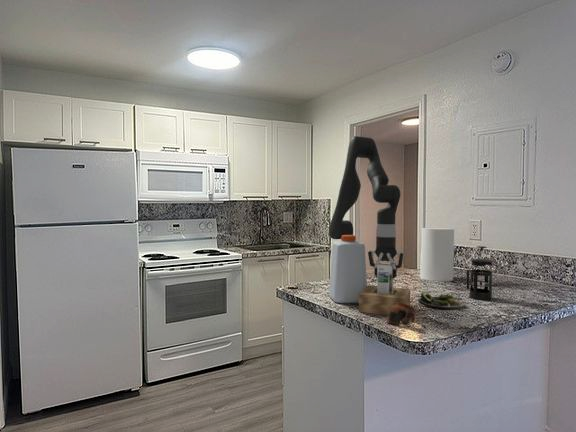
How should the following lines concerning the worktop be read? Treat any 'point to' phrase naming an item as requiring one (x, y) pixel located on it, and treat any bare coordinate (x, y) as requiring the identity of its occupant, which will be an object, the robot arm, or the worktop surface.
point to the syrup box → (384, 279)
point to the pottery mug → (400, 314)
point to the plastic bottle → (347, 270)
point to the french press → (474, 291)
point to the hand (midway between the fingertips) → (385, 277)
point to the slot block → (381, 300)
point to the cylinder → (437, 254)
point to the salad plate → (440, 301)
